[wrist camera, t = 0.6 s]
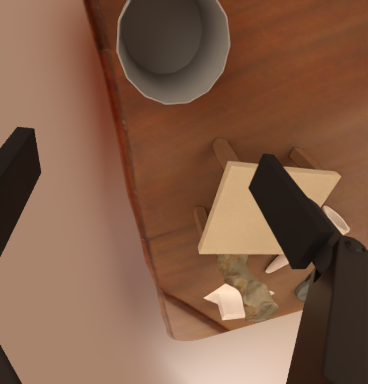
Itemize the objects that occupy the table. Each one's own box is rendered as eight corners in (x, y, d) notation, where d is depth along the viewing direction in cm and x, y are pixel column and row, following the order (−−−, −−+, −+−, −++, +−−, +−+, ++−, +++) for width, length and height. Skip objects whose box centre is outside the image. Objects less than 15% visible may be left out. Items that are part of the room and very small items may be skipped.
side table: (212, 133, 35) (230, 166, 29) (307, 145, 39) (341, 176, 32) (189, 215, 44) (199, 254, 37) (268, 218, 47) (289, 254, 41)
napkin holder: (203, 298, 61) (208, 322, 57) (240, 273, 57) (249, 297, 53) (240, 313, 69) (247, 336, 65) (275, 292, 65) (285, 315, 61)
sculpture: (252, 235, 50) (290, 311, 38) (228, 257, 53) (255, 333, 41) (231, 225, 47) (264, 303, 35) (206, 249, 50) (229, 328, 38)
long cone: (244, 256, 56) (317, 201, 46) (263, 260, 60) (336, 210, 50) (253, 281, 53) (336, 227, 42) (273, 284, 56) (355, 235, 46)
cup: (203, -22, 25) (236, -27, 17) (201, 70, 30) (226, 100, 22) (113, -20, 24) (104, -24, 16) (127, 75, 29) (125, 107, 21)
